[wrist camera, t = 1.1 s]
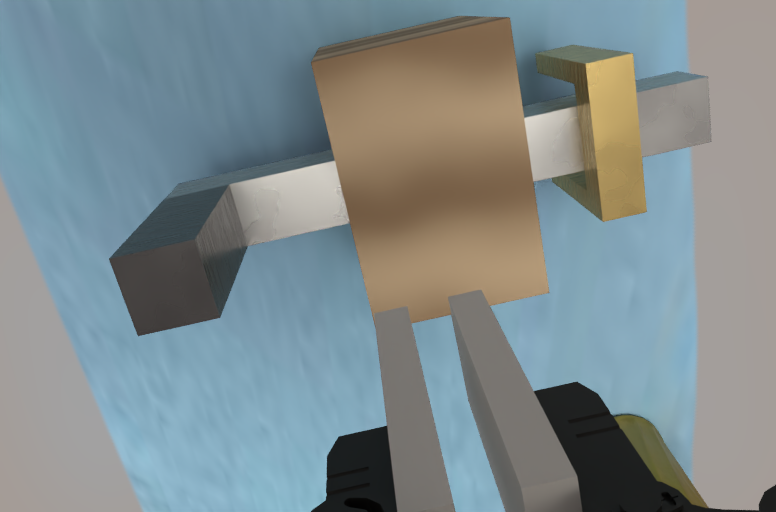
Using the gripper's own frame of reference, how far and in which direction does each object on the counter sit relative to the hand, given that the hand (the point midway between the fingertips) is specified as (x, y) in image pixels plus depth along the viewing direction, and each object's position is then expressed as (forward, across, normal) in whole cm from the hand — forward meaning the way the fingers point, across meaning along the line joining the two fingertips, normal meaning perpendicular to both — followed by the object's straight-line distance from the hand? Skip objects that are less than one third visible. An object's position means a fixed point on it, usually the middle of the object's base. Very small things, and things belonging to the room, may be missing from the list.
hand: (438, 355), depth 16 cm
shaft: (+20, +2, 0) cm, 20 cm away
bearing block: (+26, +2, 0) cm, 27 cm away
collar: (+23, +10, 0) cm, 25 cm away
